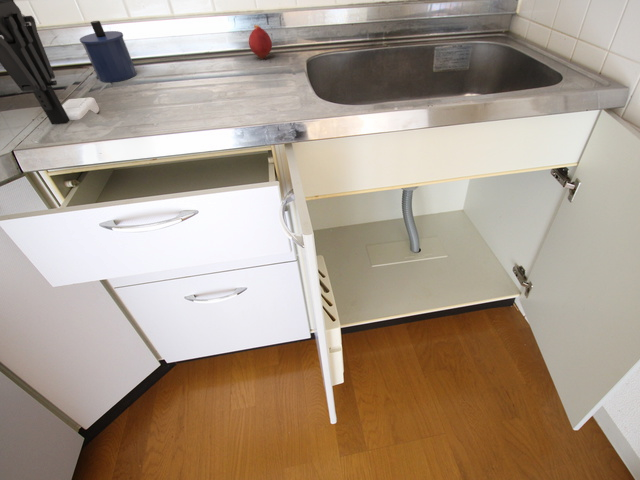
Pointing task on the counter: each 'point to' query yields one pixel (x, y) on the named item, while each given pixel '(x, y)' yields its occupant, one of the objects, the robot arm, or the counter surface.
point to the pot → (111, 60)
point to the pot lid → (100, 35)
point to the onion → (260, 42)
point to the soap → (79, 107)
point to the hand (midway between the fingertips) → (62, 124)
